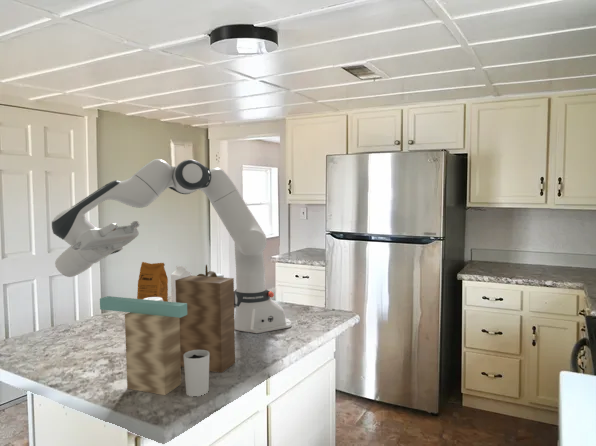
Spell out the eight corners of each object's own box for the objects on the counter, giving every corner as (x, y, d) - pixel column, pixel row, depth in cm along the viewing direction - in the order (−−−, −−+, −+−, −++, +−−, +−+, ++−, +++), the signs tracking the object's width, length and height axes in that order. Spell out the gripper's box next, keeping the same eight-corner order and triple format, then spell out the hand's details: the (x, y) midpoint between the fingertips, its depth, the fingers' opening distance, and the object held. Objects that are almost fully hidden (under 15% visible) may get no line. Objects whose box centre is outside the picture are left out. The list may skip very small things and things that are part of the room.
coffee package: (147, 308, 203) (146, 260, 202) (171, 310, 200) (170, 261, 198) (133, 314, 194) (131, 263, 193) (158, 316, 190) (156, 264, 189)
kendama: (195, 311, 198) (194, 265, 197) (207, 305, 207) (206, 262, 206) (207, 312, 196) (206, 266, 195) (218, 306, 205) (217, 263, 204)
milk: (183, 316, 190) (182, 264, 188) (193, 319, 186) (192, 265, 185) (171, 320, 185) (170, 266, 183) (181, 322, 181) (180, 267, 180)
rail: (100, 309, 124) (99, 298, 124) (108, 306, 127) (107, 296, 127) (180, 317, 115) (180, 306, 115) (187, 314, 118) (187, 303, 118)
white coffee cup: (178, 395, 116) (177, 356, 115) (193, 384, 122) (192, 348, 121) (201, 399, 114) (200, 360, 113) (215, 388, 120) (214, 351, 119)
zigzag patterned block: (127, 388, 120) (124, 314, 119) (144, 378, 127) (142, 307, 125) (165, 395, 116) (162, 318, 115) (181, 384, 122) (179, 311, 121)
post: (177, 366, 135) (175, 280, 133) (192, 357, 143) (190, 275, 141) (221, 372, 130) (220, 283, 128) (235, 362, 138) (233, 278, 136)
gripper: (64, 240, 131) (95, 216, 127) (115, 233, 151) (144, 213, 146) (73, 259, 131) (105, 236, 126) (123, 250, 150) (152, 230, 145)
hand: (126, 224), depth 136 cm, fingers open, 8 cm apart
